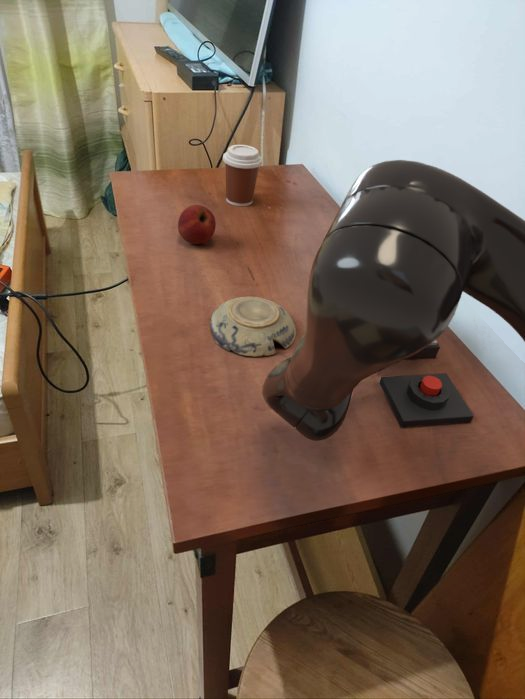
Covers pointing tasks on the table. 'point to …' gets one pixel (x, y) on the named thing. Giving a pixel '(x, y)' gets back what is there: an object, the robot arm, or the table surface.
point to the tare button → (430, 385)
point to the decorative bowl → (252, 326)
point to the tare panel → (424, 401)
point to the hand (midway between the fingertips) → (404, 285)
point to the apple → (196, 224)
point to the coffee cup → (241, 174)
